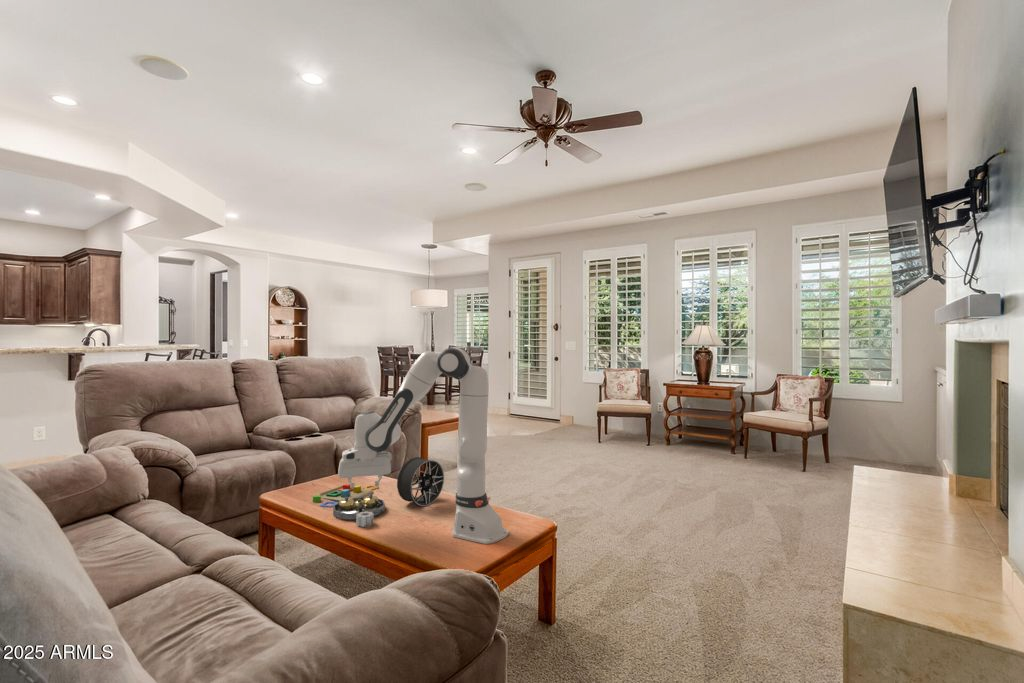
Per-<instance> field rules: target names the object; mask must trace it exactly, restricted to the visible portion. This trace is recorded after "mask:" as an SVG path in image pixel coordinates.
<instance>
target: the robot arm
mask: <svg viewBox="0 0 1024 683" xmlns="http://www.w3.org/2000/svg"><path fill="white" fill-rule="evenodd" d="M487 372H488V371H486V369H485V368H484V367H482V366H479V365H473V364H472V356H471V355H470V353H469V352H468V350H466V349H464V348H462V347H461V348H460V347H458V346H457V347H454V346H453V347H449V348H446V349H444V350H442V351H441V352H440V353H439V354H438V353H436V352H435V351H431V350H425V351H423V352H422V353H421V354H420V355H419V356H418V357H417V359H415V360H414V362H413V364H411V366H410V368H409V370H408V371H407V372H406V374H405V377H404V378H403V381H402V383H401V384H400V386H399V388H398V390H397V392H396V394H395V396H394V398H393V400H392V401H391V402H390V404H389V406H388V407H387V409H386V410H385V412H384V413H383V415H382V416H381V415H380V414H378V413H377V412H376V411H373V410H372V411H371V410H369V411H364V412H361V413H359V414H358V415H357V416H356V417H355V423H354V430H353V431H354V432H353V434H354V444H353V447H351V448H348V449H346V450H343V451H342V453H341V456H342V457H341V459H339V463H338V464H339V465H338V468H337V469H338V470H337V471H338V472H337V476H338V478H340V479H345V478H346V479H347V481H348V482H349V484H350V488H354V486H355V482H352V479H353V478H361V477H371V476H373V477H374V476H377V477H378V479H376V480H374V485H375V486H378V487H379V486H380V482H381V480H382V478H383V476H385V475H390V474H391V472H392V464H391V462H392V460H393V454H392V452H390V451H389V450H387V449H388V448H389V447H390V446H392V445H394V444H395V443H396V442H397V441H399V439H400V438H401V436H402V427H401V425H400V424H399V422H400V421H401V419H402V417H403V416H404V415H405V414H406V412H407V411H408V409H410V408H411V407H412V406H413V405H415V404H416V403H418V402H419V401H421V400H422V399H423V398H425V396H426V395H427V394H428V393H429V392H430V390H431V389H432V387H433V386H434V384H435V383H436V381H437V380H438V378H439V376H441V375H442V374H444V375H445V376H448V377H451V378H452V379H456V380H458V381H459V383H460V384H459V386H460V387H459V389H460V390H459V404H458V405H459V406H458V407H459V408H458V428H457V430H458V432H457V434H458V435H457V439H456V440H457V441H456V446H457V448H456V454H457V455H456V457H457V458H456V460H457V461H456V467H457V468H456V493H455V506H456V507H455V513H454V521H453V525H452V529H451V531H452V537H454V538H457V539H463V540H465V541H466V540H467V541H470V542H475V543H480V544H485V545H488V544H493V543H496V542H499V541H500V540H503V539H504V538H506V537H507V536H508V535H509V530H508V529H506V528H504V527H503V519H502V518H501V516H500V514H499V513H498V512H497V511H496V510H495V509H494V508H493V507H492V506H491V505H490V502H489V501H491V496H489V497H488V496H487V495H488V494H487V493H486V492H487V491H486V454H487V453H486V452H487V450H488V444H487V443H488V411H489V410H488V408H489V378H488V373H487Z"/></svg>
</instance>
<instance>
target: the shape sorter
mask: <svg viewBox="0 0 1024 683" xmlns="http://www.w3.org/2000/svg"><path fill="white" fill-rule="evenodd" d="M379 488H380V487H379V486H375V484H369V485H366V486H362V485H360V484H358V485H354V488H350V483H349V484H347V483H344V484H342V485H339V486H338V487H334V488H332V489H329V490H326V491H323V492H321V493H319V494H317V495H314V496H312V502H313V503H321V504H320V505H319V507H322V508H333V506H334V505H335V504H337V503H338V502H339V501H340V500H342V499H345V497H348V499H350V498H359V497H368V496H369V495H370V494H372V495H374V490H377V489H379ZM322 499H324V500H326V501H325V502H323V503H322ZM329 504H331V505H329Z"/></svg>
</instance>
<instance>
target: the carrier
mask: <svg viewBox="0 0 1024 683" xmlns="http://www.w3.org/2000/svg"><path fill="white" fill-rule="evenodd" d="M337 502H338V503H337V504H335V505H334V506H333V507H332V510H333V511H332V515H333V517H334V518H335V517H336V519H337V518H338V520H340V521H341V520H342V521H347V522H348V521H349V522H351V521H353V522H354V521H356V515H357V514H359V513H360V512H365V511H368V512H373V514H374V518H376V517H379V516H380V515H382V514H383V513H384V512H385V508H386V504H385V501H384V500H383V499H381V498H379V497H378V496H376V495H373V494H370V495H369V496H367V497H359V498H350V499H348V497H345V499H342V500H340V501H337Z"/></svg>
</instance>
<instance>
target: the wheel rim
mask: <svg viewBox="0 0 1024 683" xmlns="http://www.w3.org/2000/svg"><path fill="white" fill-rule="evenodd" d="M423 466H424V467H423ZM421 467H423V470H420V468H421ZM417 471H418V472H420V473H421V474H420V477H419V478H418V476H417V475H418V474H417ZM414 477H415V478H416V481H415V482H414V483H413V480H414ZM444 484H445V472H444V468H443V466H442V465H441V464H440V463H439V462H438V461H436V460H434V459H424V458H422V457H419V456H415V457H412V458H409V460H407V461H406V462H405V463H404V464H403V465H402V467H401V468H400V471H399V472H398V476H397V480H396V486H397V487H396V488H397V492H398V495H399V496H400V498H401V499H402V500H404V501H406V502H413V503H414V504H416V505H418V506H420V507H426V506H430V505H431V504H433V503H434V502H435V501H436V500H437V499H438V498H439V497H440V495H441V493H442V490H443V488H444ZM413 486H416V487H413ZM413 491H416V493H415V495H414V493H413ZM419 491H420V493H421V494H420V495H418V493H419Z"/></svg>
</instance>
